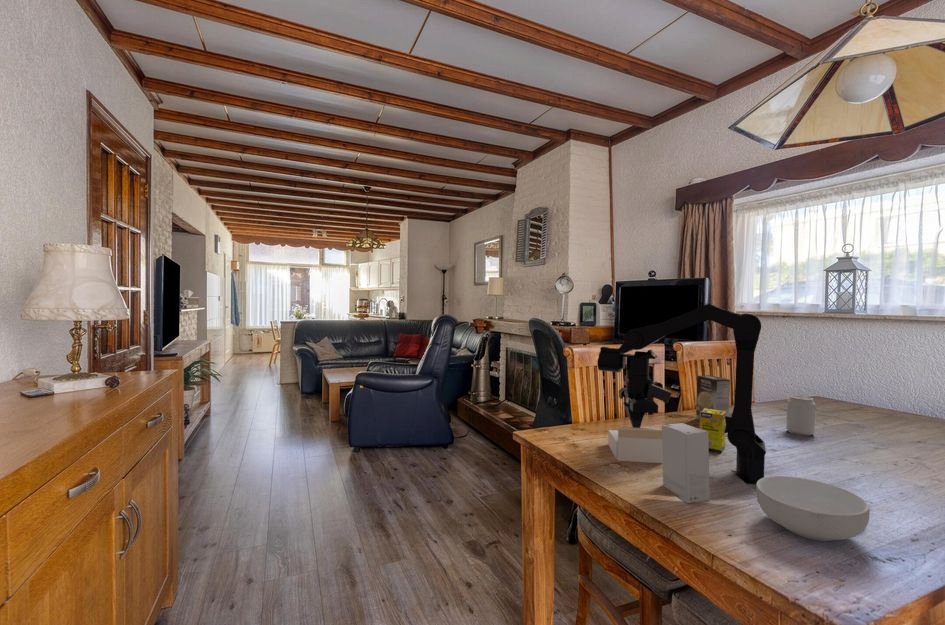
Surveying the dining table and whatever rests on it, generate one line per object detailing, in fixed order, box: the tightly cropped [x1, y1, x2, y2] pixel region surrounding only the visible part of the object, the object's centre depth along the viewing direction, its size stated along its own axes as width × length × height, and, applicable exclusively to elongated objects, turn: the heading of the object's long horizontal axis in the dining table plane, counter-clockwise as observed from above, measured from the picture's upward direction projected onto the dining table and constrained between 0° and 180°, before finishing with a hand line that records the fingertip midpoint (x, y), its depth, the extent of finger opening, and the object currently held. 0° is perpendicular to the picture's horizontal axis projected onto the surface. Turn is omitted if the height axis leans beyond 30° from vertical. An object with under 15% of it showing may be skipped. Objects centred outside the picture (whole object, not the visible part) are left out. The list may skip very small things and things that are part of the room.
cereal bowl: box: [755, 475, 870, 542], centre depth 81 cm, size 17×17×7 cm
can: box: [785, 394, 817, 437], centre depth 144 cm, size 8×8×12 cm
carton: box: [607, 429, 618, 460], centre depth 120 cm, size 12×12×5 cm
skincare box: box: [661, 422, 710, 504], centre depth 96 cm, size 8×6×15 cm
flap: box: [616, 426, 663, 464], centre depth 113 cm, size 1×12×9 cm, turn 83°
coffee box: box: [695, 374, 731, 424], centre depth 156 cm, size 9×6×16 cm
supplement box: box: [699, 408, 726, 454], centre depth 127 cm, size 6×6×11 cm
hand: (636, 431), depth 119 cm, fingers closed
